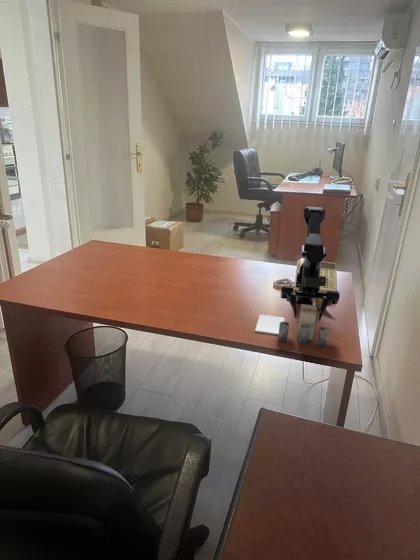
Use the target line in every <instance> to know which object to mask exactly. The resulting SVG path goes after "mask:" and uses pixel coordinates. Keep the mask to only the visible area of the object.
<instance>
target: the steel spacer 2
mask: <svg viewBox="0 0 420 560" xmlns="http://www.w3.org/2000/svg"><path fill="white" fill-rule="evenodd" d="M318 329H319V331H318V336H317V337H318V338H317V342H316V343H317V344H316V346H317V347H318V348H319V349H326V348H327V346H328V340H329V335H330V329H329V328H328V327H326V326H320V327H319V328H318Z"/></svg>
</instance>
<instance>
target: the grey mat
mask: <svg viewBox="0 0 420 560" xmlns="http://www.w3.org/2000/svg"><path fill="white" fill-rule="evenodd" d="M258 316H259V317H258V320H257V323H256V326H255V331H254V332H255V333H260V334H261V333H262V334H267V335H274V336H279V326H280V322H285V321H286V320H285V319H286V318H285V317H284V316H283V317H282V316H273V315H268V314H267V315H266V314H259V315H258Z"/></svg>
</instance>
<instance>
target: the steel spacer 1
mask: <svg viewBox="0 0 420 560" xmlns="http://www.w3.org/2000/svg"><path fill="white" fill-rule="evenodd" d="M289 329H290V323H289V322H287V321H284V322H280V326H279V335H277V336H278V337H277V341H279V342H280V343H287V342H288V338H289V337H288V336H289Z"/></svg>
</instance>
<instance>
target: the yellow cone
mask: <svg viewBox="0 0 420 560" xmlns="http://www.w3.org/2000/svg"><path fill="white" fill-rule="evenodd" d="M314 301H315V302H314V303H315V304H314V306H316V311H318V310H320V309H321V304H322V301H323V299H318V298H314Z"/></svg>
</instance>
